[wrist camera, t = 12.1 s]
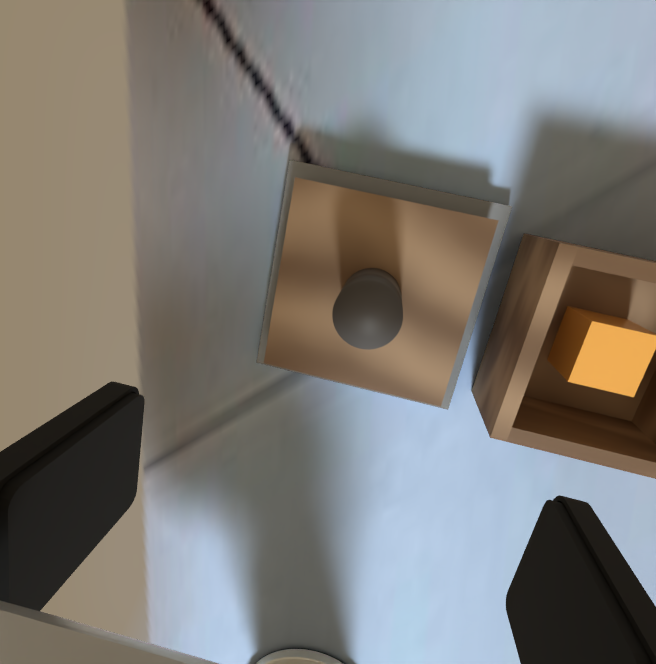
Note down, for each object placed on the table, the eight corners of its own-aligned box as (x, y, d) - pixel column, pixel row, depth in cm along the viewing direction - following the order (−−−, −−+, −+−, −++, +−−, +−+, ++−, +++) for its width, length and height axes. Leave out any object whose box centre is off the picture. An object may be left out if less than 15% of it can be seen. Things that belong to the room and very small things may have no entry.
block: (604, 373, 31) (633, 397, 28) (547, 359, 32) (567, 381, 28) (627, 319, 30) (661, 336, 26) (567, 305, 30) (592, 321, 27)
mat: (446, 403, 35) (448, 409, 34) (260, 358, 36) (256, 362, 35) (508, 206, 30) (512, 206, 29) (292, 160, 31) (289, 159, 30)
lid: (438, 394, 34) (449, 443, 27) (270, 354, 35) (241, 391, 28) (492, 219, 30) (520, 224, 23) (301, 178, 31) (275, 173, 24)
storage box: (632, 430, 33) (692, 487, 27) (471, 391, 34) (490, 437, 28) (706, 272, 30) (797, 293, 23) (523, 233, 31) (559, 242, 24)
